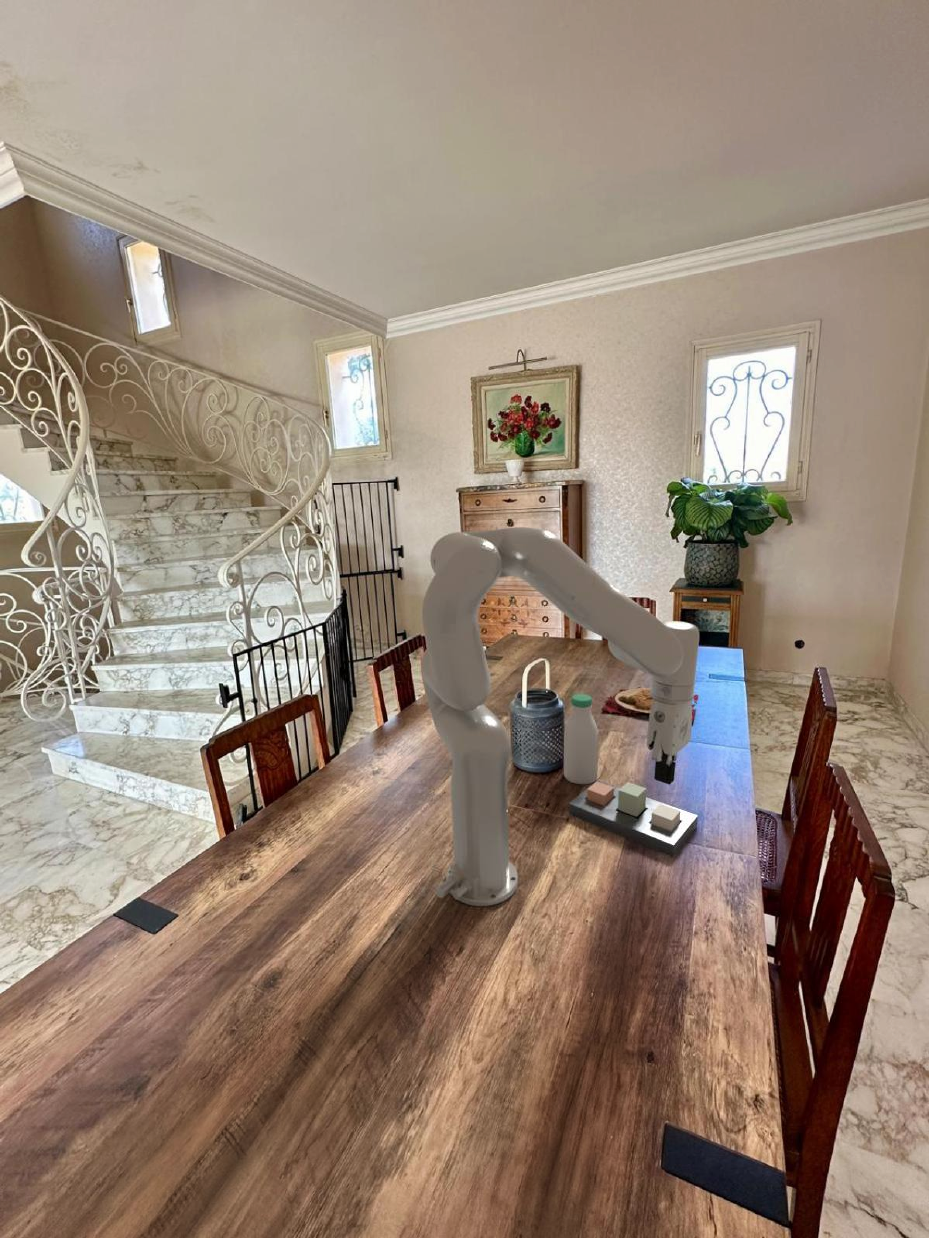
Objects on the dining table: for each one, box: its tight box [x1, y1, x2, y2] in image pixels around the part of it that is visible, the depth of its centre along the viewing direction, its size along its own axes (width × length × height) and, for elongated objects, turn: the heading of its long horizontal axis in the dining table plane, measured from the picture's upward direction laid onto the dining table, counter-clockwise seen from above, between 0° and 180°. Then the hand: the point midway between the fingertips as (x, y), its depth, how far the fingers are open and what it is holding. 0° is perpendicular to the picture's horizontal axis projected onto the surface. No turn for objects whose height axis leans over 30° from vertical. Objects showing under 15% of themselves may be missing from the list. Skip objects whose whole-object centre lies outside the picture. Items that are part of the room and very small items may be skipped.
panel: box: [568, 779, 698, 858], centre depth 114 cm, size 12×22×3 cm, turn 48°
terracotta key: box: [586, 781, 614, 806], centre depth 118 cm, size 4×4×4 cm
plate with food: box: [601, 686, 699, 723], centre depth 173 cm, size 24×26×4 cm
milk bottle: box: [563, 693, 599, 785], centre depth 129 cm, size 8×8×20 cm
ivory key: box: [651, 804, 680, 832], centre depth 109 cm, size 4×4×4 cm
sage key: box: [618, 781, 647, 818], centre depth 113 cm, size 4×4×4 cm
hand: (663, 780), depth 107 cm, fingers closed
